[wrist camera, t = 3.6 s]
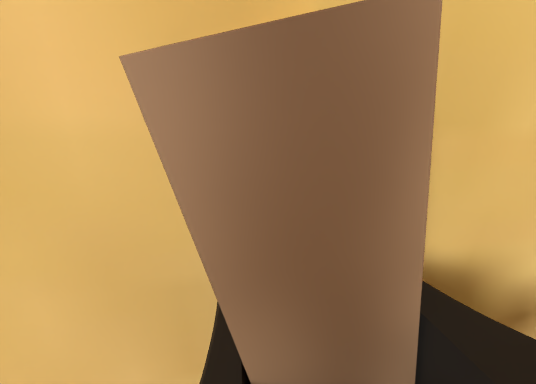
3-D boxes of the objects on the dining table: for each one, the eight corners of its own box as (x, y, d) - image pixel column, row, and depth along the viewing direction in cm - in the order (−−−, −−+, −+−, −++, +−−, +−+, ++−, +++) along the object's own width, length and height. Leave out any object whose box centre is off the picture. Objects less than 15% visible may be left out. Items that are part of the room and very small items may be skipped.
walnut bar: (278, 397, 15) (307, 524, 11) (159, 46, 7) (118, 56, 3) (353, 370, 15) (407, 484, 11) (316, 11, 8) (444, -18, 4)
